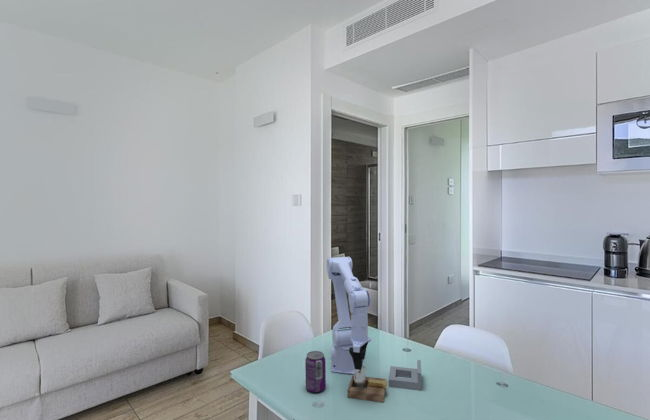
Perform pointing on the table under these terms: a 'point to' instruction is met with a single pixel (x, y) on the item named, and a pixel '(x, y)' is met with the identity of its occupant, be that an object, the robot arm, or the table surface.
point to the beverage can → (315, 371)
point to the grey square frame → (405, 382)
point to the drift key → (377, 383)
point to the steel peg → (360, 378)
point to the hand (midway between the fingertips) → (359, 364)
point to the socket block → (366, 391)
